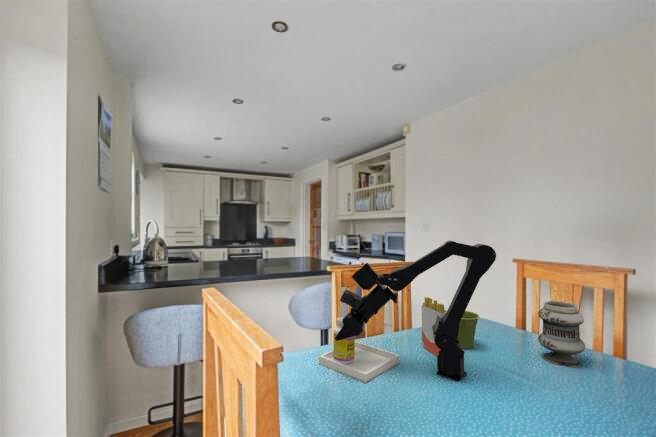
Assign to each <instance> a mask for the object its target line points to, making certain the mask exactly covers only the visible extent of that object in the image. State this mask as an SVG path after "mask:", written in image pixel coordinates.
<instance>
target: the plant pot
mask: <svg viewBox="0 0 656 437" xmlns="http://www.w3.org/2000/svg"><path fill="white" fill-rule="evenodd" d="M446 312H447V310H446ZM479 318H480V315H479V314H478V313H476V312H473V311H469V310H465V312H464V314H463V316H462V319H461V321H460V324H459V332H458V337H457V340H458V341H459V342H460V344H461V346H462V348H463V349H466V350H468V349H472V348H473V347H474V341H475V336H476V329H477V325H478V319H479Z"/></svg>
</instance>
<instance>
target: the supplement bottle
mask: <svg viewBox="0 0 656 437" xmlns="http://www.w3.org/2000/svg"><path fill="white" fill-rule="evenodd" d="M344 317H345V316H341V317H337V318H336V326H335V327H334V329H333V346H332V347H333V349H332V350H333V359H334V361H337V362H339V363H342V364H350V363H352V362H353V361H354V356H355V341H356V338H355V337H356V336H353V337H349V338H345V339H342V340H339V341H336V339H335V337H336V336H337V334H338V333H339V331H340V330H341V328H342V327H343V319H344Z"/></svg>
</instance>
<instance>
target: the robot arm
mask: <svg viewBox="0 0 656 437" xmlns="http://www.w3.org/2000/svg"><path fill="white" fill-rule="evenodd" d="M452 256H458V257H461V258H466V259H467V260H466V266H465V272H464V274H463V276H462V277H461V280H460V283H459V285H458V287H457V289H456V291H455V293H454V294H453V295H454V296H453V298H452V300H451V302H450V304H449V306H448V308H447V310H446V311H447V313H446V314H445V315H444V316H443V317H442V318H440V317H439V316H437V318H436V322H435V324H434V325H433V326H432V330H433V337H434V341H435V344H436V346H437V347H438V348H439V349H441V350H440V351H439V355H438V356H436V366H437V367H436V369H437V371H436V374H435V375H437V376H439V377H440V376H441V377H443V378H447V379H449V380H452V381H455V382H461V381H462V379H463V378H465V376H466V375H467V371H465V351H464V348H462V346H461V344H460V342H459V341H458V340H457V337H458V332H459V324H460V321H461V319H462V316H463V314H464V312H465V311H467V308H468V305H469V303H470V301H471V299H472V297H473V295H474V292H475V290H476V288H477V286H478V284H479V282H480V280H481V278H482V277H483V276H484V275H485V274H486V273H487V272H488V271H489V270H490V268H491V267H492V265H493V264H494V263H495V261H496V260H497V253H496V251H495V249H494V248H493V247H492V246H491V245H487V244H483V243H477V244H474V245H469V244H465V243H461V242H456V241H453V240H447V241H444V243H443V244H441V245H439V247H437V248H435V249H433V250H432V251H430V252H428V253H426V254H425V255H423V256H422V257H419V258H418V259H417V260H415V261H414V262H412V263H409V264H406V265H402V266H401V267H398V268H395V269H393V270H391V271H390V272H389V273H379V274H378V273H377V271H375V270H374V269H373V267H372V266H371V264H370V263H368V262H366V263H364V265H363V266H362V267H361V268H360V267H359V269H357V271H355V272H354V273H353V275H351V279H352V280H353V281H354V282H356V284H357V285H358V286H359V287H360V288H361V290H362V291H370V290H371V289H372V290H371V291H370V292H368V293H367V294H366V295H364V296H360V295H358V294H357V293H356V292H353V291H352V290H349V289H345V290H344V291H343V293H342V295H341V297H340V299H339V301H340V302H341V303H343V304H346V305H348V306H349V307H351V308H350V312H348V313H347V314H346V315H345V316H343V317H344V319H343V327H342V328H341V330H340V331H339V333H338V334H337V336H336V337H335V339H336V341H339V340H342V339H345V338H349V337H353V336H355V337H359V335H361V334H362V333H363V331H364V329H365V325H367V323H368V322H369V320H370V319H371V318H373V317H374V315H377V314H378V313H379V312H380V310H382V308H383V307H384V306H385V305H386V304H387V303H389V301H390V300H391V301H392V302H393V303H394V304H398V296H399V293H398V292H401V291H403V290H404V289H406V287H407V286H409V285H410V284H411V283H412V282H413V281H414V280H415V279H416V278H418V276H419V275H421V274H423V273H424V272H426V271H428V270H429V269H431V268H433V267H434V266H437V265H438V264H440V263H441V262H443V261H445V260H446V259H448V258H450V257H452ZM374 286H375V287H374ZM373 287H374V288H373Z"/></svg>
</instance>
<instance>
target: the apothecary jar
mask: <svg viewBox="0 0 656 437" xmlns="http://www.w3.org/2000/svg"><path fill="white" fill-rule="evenodd" d="M537 314H538V316H539V318H540V320H542V332H541V333H540V334H539V335H538V338H537V340H538V342H539V344H540V345H541V347H543V348H545V349H546V350H549V351H550V352H545V353H543V354H542V358H543V359H544V360H546V361H547V362H549V363H552V364H555V365H558V366H566V367H568V368H569V367H570V368H576V367H580V366H581V365H582V363H581V361H580V360H579V359H578V358H576V357H574V355H579V354H582V353H583V352H584V351H585V349H586V344H585V342H584V341H583V340H582V339H581V337H580V336H581V335H580V325H582V324H583V323H584V321H585V318H584V316H583V315H582V313H580V312H579V311H578V307H577V305H576V304H574V303H571V302H567V301H558V300H549V301H545V302H544V303H543V307H542V308H540V309H539V311H538V312H537Z"/></svg>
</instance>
